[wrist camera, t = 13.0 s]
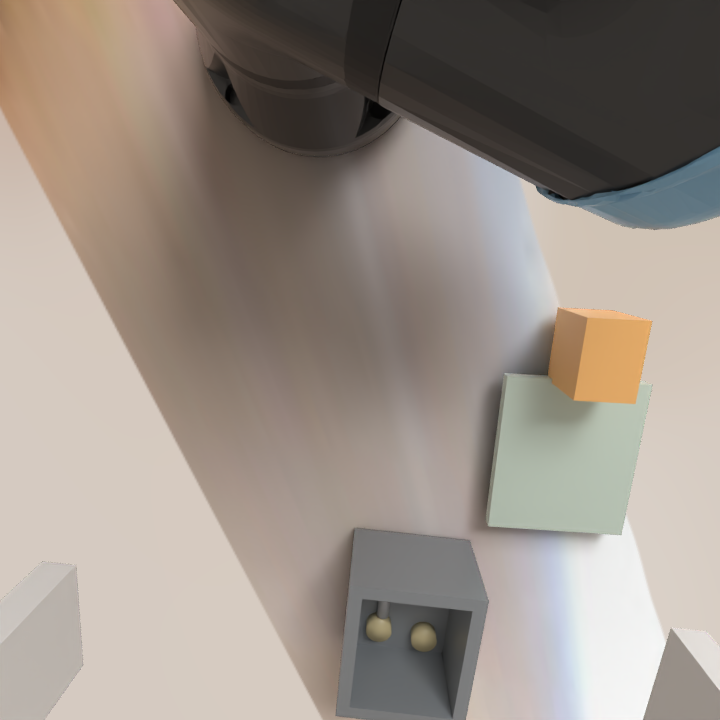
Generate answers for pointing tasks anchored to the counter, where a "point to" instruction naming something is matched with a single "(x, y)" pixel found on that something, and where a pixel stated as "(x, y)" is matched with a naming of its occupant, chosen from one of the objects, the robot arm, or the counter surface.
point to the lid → (573, 428)
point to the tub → (410, 628)
